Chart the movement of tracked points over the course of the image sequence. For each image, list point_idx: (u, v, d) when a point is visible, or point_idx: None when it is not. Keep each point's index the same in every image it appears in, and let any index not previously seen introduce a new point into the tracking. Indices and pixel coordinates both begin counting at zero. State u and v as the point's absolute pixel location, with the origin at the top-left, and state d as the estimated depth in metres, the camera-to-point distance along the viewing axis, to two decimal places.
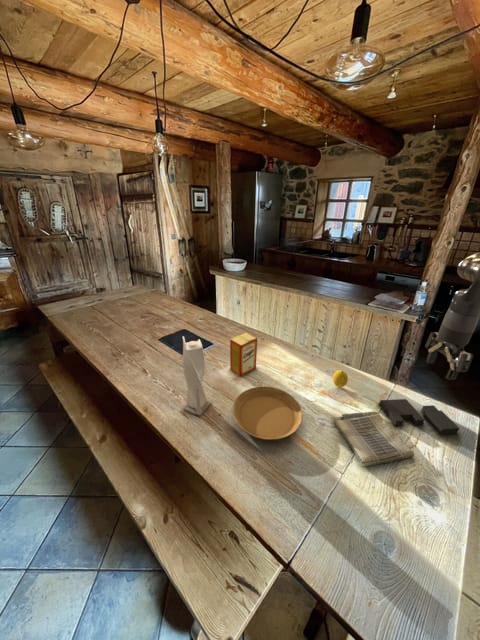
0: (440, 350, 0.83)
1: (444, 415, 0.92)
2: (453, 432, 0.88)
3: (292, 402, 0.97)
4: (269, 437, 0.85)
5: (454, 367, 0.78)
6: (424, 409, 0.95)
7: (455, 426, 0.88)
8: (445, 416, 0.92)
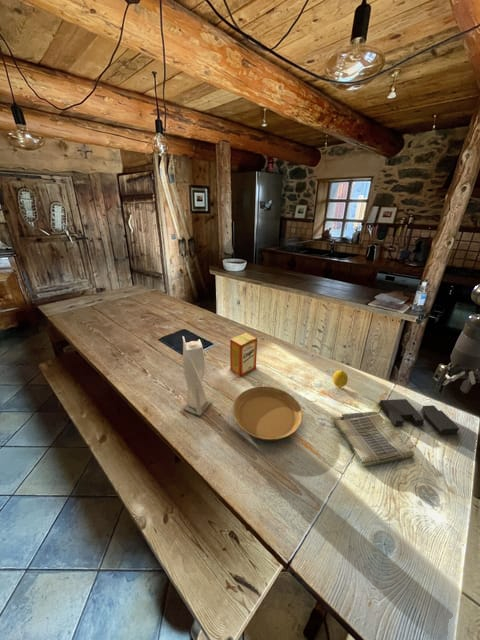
0: None
1: (444, 415, 0.92)
2: (453, 432, 0.88)
3: (292, 402, 0.97)
4: (269, 437, 0.85)
5: None
6: (424, 409, 0.95)
7: (455, 426, 0.88)
8: (445, 416, 0.92)
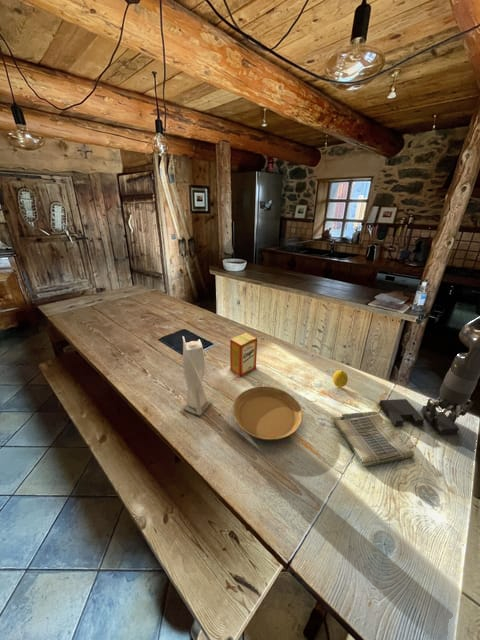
0: None
1: (444, 415, 0.92)
2: (453, 432, 0.88)
3: (292, 402, 0.97)
4: (269, 437, 0.85)
5: None
6: (424, 409, 0.95)
7: (455, 426, 0.88)
8: (445, 416, 0.92)
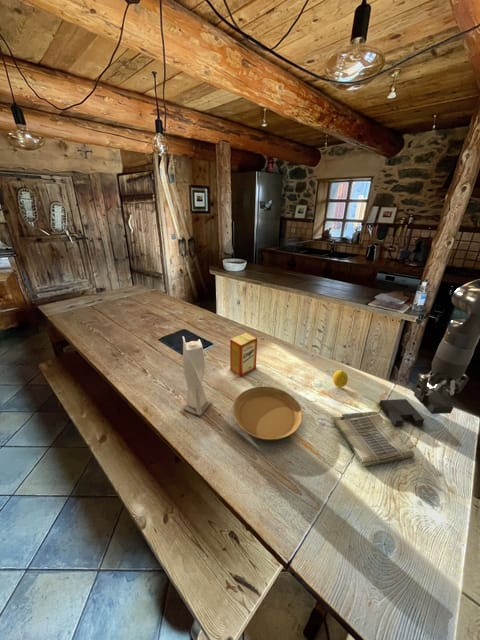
0: None
1: (437, 393, 0.82)
2: (446, 411, 0.77)
3: (292, 402, 0.97)
4: (269, 437, 0.85)
5: None
6: (415, 387, 0.85)
7: (449, 404, 0.77)
8: (438, 394, 0.81)
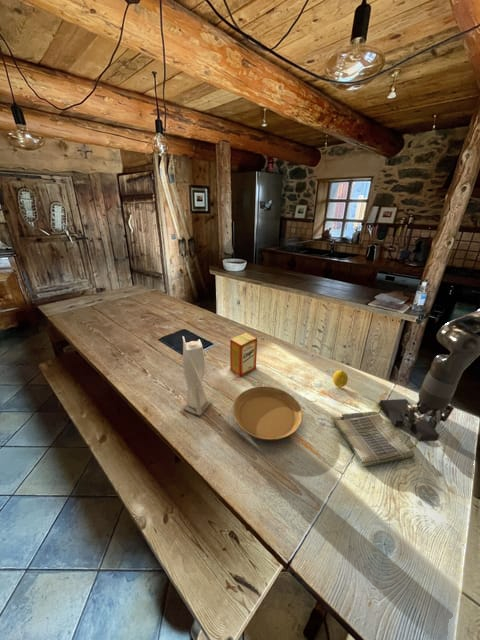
0: None
1: (424, 420, 0.86)
2: (433, 439, 0.82)
3: (292, 402, 0.97)
4: (269, 437, 0.85)
5: None
6: None
7: (435, 433, 0.82)
8: (425, 422, 0.86)
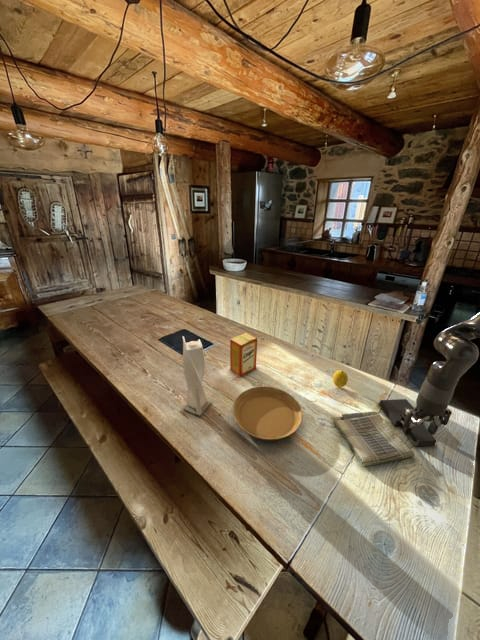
0: None
1: (422, 426, 0.87)
2: (430, 445, 0.83)
3: (292, 402, 0.97)
4: (269, 437, 0.85)
5: None
6: None
7: (432, 438, 0.83)
8: (423, 427, 0.87)
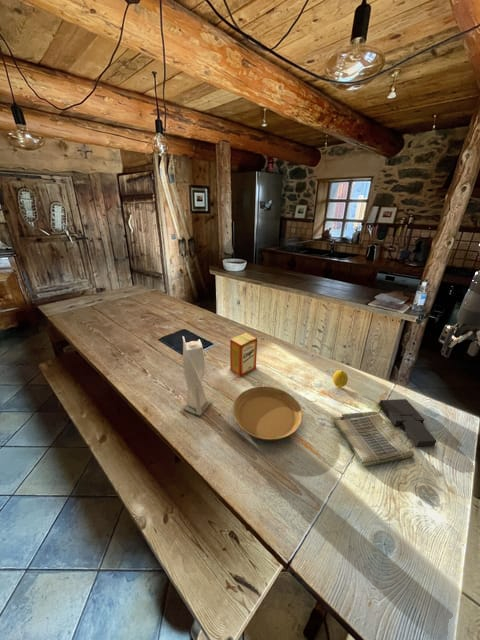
0: None
1: (422, 426, 0.87)
2: (430, 445, 0.83)
3: (292, 402, 0.97)
4: (269, 437, 0.85)
5: None
6: None
7: (432, 438, 0.83)
8: (423, 427, 0.87)
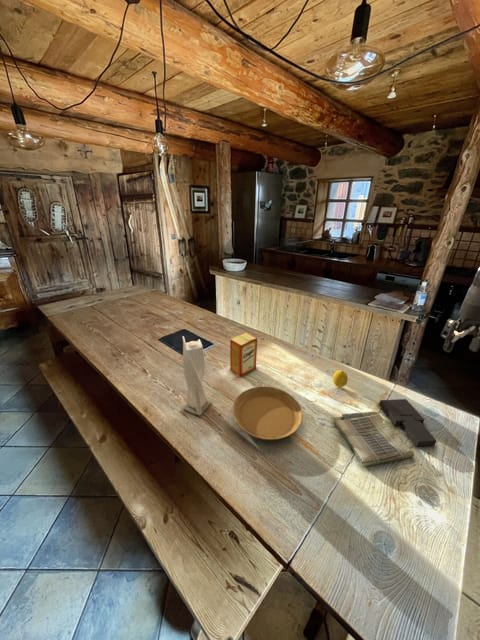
0: None
1: (422, 426, 0.87)
2: (430, 445, 0.83)
3: (292, 402, 0.97)
4: (269, 437, 0.85)
5: None
6: None
7: (432, 438, 0.83)
8: (423, 427, 0.87)
